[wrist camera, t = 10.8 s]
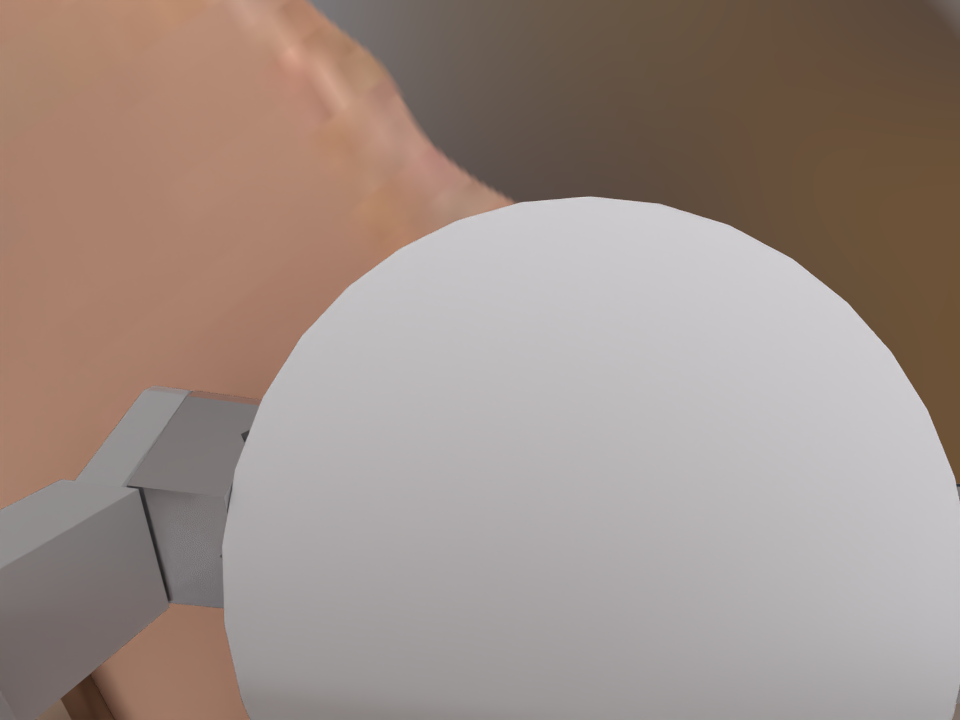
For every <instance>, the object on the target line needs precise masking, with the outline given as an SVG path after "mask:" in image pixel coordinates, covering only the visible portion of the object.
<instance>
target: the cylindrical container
mask: <svg viewBox="0 0 960 720" xmlns="http://www.w3.org/2000/svg"><path fill="white" fill-rule="evenodd" d="M222 558H223V591H224V624H225V629H226V634H227V638H228V643H229V647H230V651H231V656H232V660H233V665H234V669H235V673H236V678H237V682H238V687H239V691H240V695H241V700H242V702H243V705H244V707H245V709H246V711H247V714H248V716H249V718H250V720H951V719H952V717H953V715H954V711H955V706H956V701H957V696H958V691H959V686H960V501H959V496H958V491H957V486H956V481H955V477H954V475H953V472H952V470H951V467H950V465H949V462H948V460H947V457H946V455H945V453H944V450H943V447H942V445H941V442H940V441H939V437H938V435H937V433H936V430H935V428H934V425H933V423H932V420H931V418H930V415H929V413H928V410H927V409H926V407H925V405H924V404H923V402H922V401H921V399H920V398H919V396H918V394H917V393H916V391H915V390H914V388H913V386H912V385H911V383H910V382H909V380H908V378H907V377H906V375H905V373H904V372H903V370H902V369H901V367H900V365H899V364H898V362H897V361H896V359H895V357H894V356H893V355H892V353H891V351H890V350H889V349H888V348H887V347H886V346H885V345H884V344H883V342H882V341H881V340H880V339H879V338H878V337H877V336H876V334H875V333H874V332H873V331H872V330H871V329H870V328H869V327H868V325H866V323H865V322H864V321H863V320H862V319H861V318H860V317H859V315H858V314H857V313H856V312H855V311H854V310H853V309H852V307H851V306H850V305H849V304H848V303H847V302H846V301H845V300H843V299H842V298H841V297H840V296H838V295H837V294H836V293H835V292H833V291H832V290H831V289H830V288H828V287H827V286H826V285H824V284H823V283H822V282H821V281H819V280H818V279H817V278H816V277H814V276H813V275H812V274H811V273H809V272H808V271H807V270H805V269H804V268H803V267H802V266H801V265H799V264H798V263H797V262H796V261H794V260H793V259H792V258H790V257H788V256H786V255H784V254H782V253H780V252H778V251H776V250H774V249H773V248H771V247H769V246H767V245H765V244H763V243H762V242H760V241H758V240H756V239H754V238H752V237H750V236H748V235H746V234H744V233H743V232H741V231H739V230H737V229H735V228H733V227H731V226H729V225H726V224H723V223H720V222H717V221H714V220H710V219H707V218H704V217H701V216H697V215H694V214H691V213H688V212H685V211H681V210H678V209H675V208H672V207H668V206H665V205H662V204H655V203H646V202H637V201H627V200H618V199H607V198H599V197H578V198H567V199H556V200H545V201H532V202H521V203H517V204H514V205H510V206H507V207H503V208H500V209H496V210H493V211H489V212H485V213H482V214H478V215H475V216H471V217H468V218H464V219H461V220H457V221H455V222H453V223H451V224H449V225H447V226H445V227H443V228H441V229H439V230H437V231H435V232H433V233H431V234H429V235H427V236H424V237H422V238H420V239H418V240H416V241H414V242H412V243H410V244H408V245H406V246H404V247H402V248H400V249H399V250H397V251H396V252H395V253H393V254H392V255H391V256H389V257H388V258H386V259H385V260H384V261H382V262H381V263H380V264H378V265H377V266H376V267H374V268H373V269H371V270H370V271H369V272H367V273H366V274H365V275H363V276H362V277H361V278H359V279H358V280H357V281H355V282H354V283H352V284H351V285H350V286H348V288H347V289H346V290H345V291H344V292H343V293H342V294H341V295H340V296H339V297H338V298H337V299H336V300H335V301H334V302H333V303H332V305H331V306H330V307H329V308H328V309H327V310H326V311H325V312H324V313H323V314H322V315H321V316H320V317H319V318H318V319H317V320H316V322H315V323H314V324H313V325H312V326H311V327H310V328H309V329H308V330H307V331H306V332H305V333H304V334H303V335H302V336H301V338H300V340H299V341H298V343H297V344H296V346H295V348H294V349H293V351H292V352H291V354H290V355H289V357H288V359H287V360H286V362H285V363H284V365H283V366H282V368H281V370H280V371H279V373H278V374H277V376H276V378H275V379H274V381H273V382H272V384H271V385H270V387H269V389H268V390H267V392H266V393H265V395H264V397H263V398H262V401H261V403H260V406H259V409H258V411H257V414H256V416H255V419H254V422H253V424H252V427H251V429H250V432H249V435H248V437H247V440H246V442H245V445H244V448H243V450H242V453H241V456H240V458H239V461H238V463H237V466H236V469H235V473H234V479H233V485H232V491H231V497H230V503H229V509H228V515H227V521H226V527H225V533H224V539H223V544H222Z"/></svg>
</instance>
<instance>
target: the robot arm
mask: <svg viewBox="0 0 960 720" xmlns="http://www.w3.org/2000/svg"><path fill="white" fill-rule="evenodd" d="M261 401H262V400H259V399H252V398H245V397H238V396H231V395H224V394H217V393H210V392H203V391H190V390H184V389H177V388H170V387H163V386H156V385H154V386H152V387H150V388H148V389H145V390H144V391H143V392H142V393H141V394H140V395H139V396H138V398H137V399H136V400H135V402H134V403H133V404H132V406H131V407H130V408H129V410H128V411H127V412H126V414H125V415H124V416H123V417H122V419H121V420H120V421H119V423H118V424H117V425H116V427H115V428H114V429H113V431H112V432H111V433H110V435H109V436H108V437H107V439H106V440H105V441H104V442H103V444H102V445H101V446H100V448H99V449H98V450H97V452H96V453H95V454H94V456H93V457H92V458H91V460H90V461H89V462H88V463H87V465H86V466H85V467H84V469H83V470H82V471H81V473H80V474H79V475H78V477H77V478H76V479H75V481H72V480H63V479H61V480H59V481H57V482H55V483H53V484H51V485H49V486H47V487H45V488H43V489H41V490H39V491H37V492H35V493H33V494H31V495H29V496H27V497H25V498H23V499H21V500H19V501H17V502H15V503H13V504H11V505H9V506H7V507H5V508H3V509H1V510H0V720H35V719H37V718H38V717H39V716H40V715H41V714H43V713H44V712H45V711H46V710H47V709H49V708H50V707H51V706H52V705H53V704H55V703H56V702H57V701H58V700H59V699H60V698H62V697H63V696H64V695H65V694H66V693H68V692H69V691H70V690H71V689H72V688H74V687H75V686H76V685H77V684H78V683H80V682H81V681H82V680H83V679H84V678H86V677H87V676H88V675H89V674H90V673H92V672H93V671H94V670H95V669H96V668H98V667H99V666H100V665H101V664H102V663H103V662H105V661H106V660H107V659H108V658H109V657H111V656H112V655H113V654H114V653H115V652H117V651H118V650H119V649H120V648H121V647H123V646H124V645H125V644H126V643H127V642H129V641H130V640H131V639H132V638H133V637H135V636H136V635H137V634H138V633H139V632H141V631H142V630H143V629H144V628H145V627H147V626H148V625H149V624H150V623H151V622H152V621H154V620H155V619H156V618H157V617H158V616H160V615H161V614H162V613H163V612H164V611H166V610H167V609H168V608H169V603H175V604H185V605H195V606H205V607H215V608H224V591H223V558H222V544H223V539H224V533H225V527H226V521H227V515H228V509H229V503H230V497H231V491H232V485H233V479H234V473H235V469H236V466H237V463H238V461H239V458H240V456H241V453H242V450H243V448H244V445H245V442H246V440H247V437H248V435H249V432H250V429H251V427H252V424H253V422H254V419H255V416H256V414H257V411H258V409H259V406H260V403H261ZM956 486H957V491H958V496H959V501H960V484H956ZM956 703H959V704H960V686H959V691H958V696H957V701H956Z"/></svg>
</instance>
